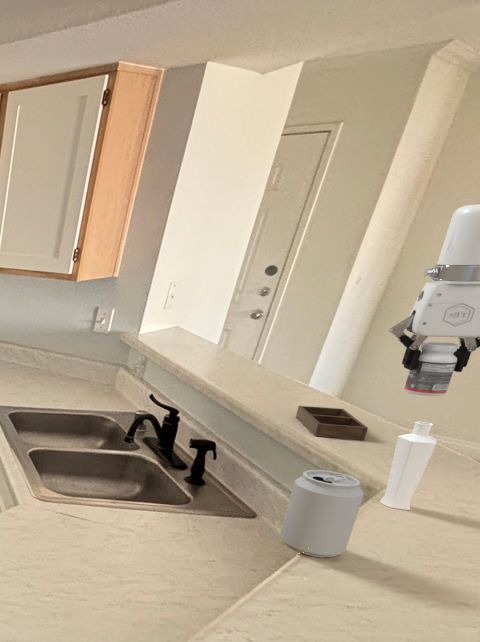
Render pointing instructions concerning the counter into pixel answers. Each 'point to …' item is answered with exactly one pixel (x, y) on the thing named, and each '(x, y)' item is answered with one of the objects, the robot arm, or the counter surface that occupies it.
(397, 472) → the perfume bottle
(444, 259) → the robot arm
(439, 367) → the pill bottle
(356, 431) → the brown wooden tray
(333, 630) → the counter surface
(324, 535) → the can
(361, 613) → the counter surface
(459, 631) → the counter surface
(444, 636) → the counter surface
